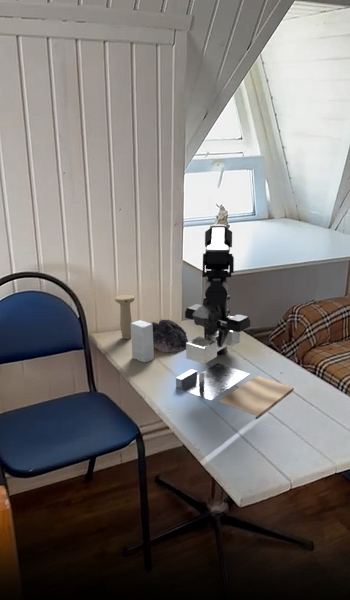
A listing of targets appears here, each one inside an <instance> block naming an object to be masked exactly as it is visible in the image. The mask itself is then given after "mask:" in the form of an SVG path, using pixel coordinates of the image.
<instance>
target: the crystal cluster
mask: <svg viewBox="0 0 350 600" xmlns="http://www.w3.org/2000/svg"><path fill="white" fill-rule="evenodd" d="M151 324H153V348H154V349H155V350H158V351H159V352H162V353H170V352H173V353H174V352H181V351H184V350H186V343H187V342H189V339H188V336H187V332H186V331H185V330H184V328H183V327H181V326H180V324H178V323H177V322H175V321H172V320H171V319H160V320H159V322H155V321H153V322H151Z"/></svg>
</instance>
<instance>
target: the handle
mask: <svg viewBox="0 0 350 600" xmlns="http://www.w3.org/2000/svg"><path fill="white" fill-rule="evenodd" d="M114 299H115V300H114V301H115V302H116V303H117V304H119V305H120V306H119V309H120V310H119V311H120V314H119V315H120V319H119V320H120V322H119V323H120V331H121V337H122V339H123V340H129V339H131V323H133V321H132V311H131V310H132V309H131V303H133V302H134V301H135V295H134V294H121V295H120V294H119V295H116V296H115V297H114Z"/></svg>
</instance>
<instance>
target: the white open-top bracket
mask: <svg viewBox="0 0 350 600" xmlns="http://www.w3.org/2000/svg"><path fill="white" fill-rule="evenodd" d="M240 336H241V332H235V331H232V330H230V332H229V333H228V335H227V337H226V339H225V342H224V344H223V346H222V347H219V331H217V332H215V333H213V334H211V335H209V336H207V337H205V338H204V337H203V336H197V337H196V338H193V339H192V340H188V342H187V343H186V348H185V353H186V354H185V356H186V357H185V359H187V360H190V361H193V362H196V363H199V364H203V365H205V364H207V363H209V362H210V361H211V360H214V359H215V358H217V357H218V355H217V352H218V351H219V350H221V349H223V348H225V347H227V348H228V346H229V347H231V348H232V347H234V346H236V345H237V344H239V343H240V339H241V337H240Z"/></svg>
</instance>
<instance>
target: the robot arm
mask: <svg viewBox="0 0 350 600" xmlns="http://www.w3.org/2000/svg"><path fill="white" fill-rule="evenodd" d="M209 226H210V227H209V229H207V230H205V232H204V246H205V252H202V278H206V285H205V286H206V287H205V293H204V294H205V297H203V299H202V301H203V302H202V304H199V303H195V304H193V305H190V306H188V307H186V309H185V310H184V318H185V319H188V320H191V321H192V320H193V323H194V324H195V325H196V326H201V327H203V331H204V332H203V334H204V337H203V338H205V337H207V336H209V335H211V334H213V333H215V332H217V331H219V347H222V346H223V344H224V342H225V339H226V337H227V335H228V333H229V332H230V330H232V331H235V332H240V333H241V332H243V331H244V330H246V329H248V328H250V327H251V318H250V317H249V316H248V315H247V316H246V315H243V314H240V313H239V314H238V313H237V314H235V315H233V316H231V315H229V314H230V313H231V310H230V309H228V301H229V300H231V295H229V294H228V285H229V282H228V281H229V280H228V279H229V278H232V274H234V267H235V264H234V261H235V260H234V258H235V257H234V256H233V253H232V252H231V251H230V250H231V248H233V231H232V230H231V229H228V226H227V225H225V224H212V225H209ZM227 351H228V346H227V347H225V348H223V349H221V350H219V351H218V352H217V356H223V355H225V354H226V353H227Z"/></svg>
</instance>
